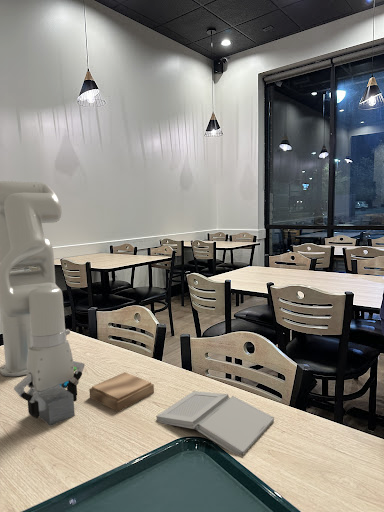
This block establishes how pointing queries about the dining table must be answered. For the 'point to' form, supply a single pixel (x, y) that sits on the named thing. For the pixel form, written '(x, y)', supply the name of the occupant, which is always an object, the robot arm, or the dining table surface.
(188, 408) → the grey folded flat piece
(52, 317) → the robot arm
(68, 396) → the grey rectangular block
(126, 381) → the stand
